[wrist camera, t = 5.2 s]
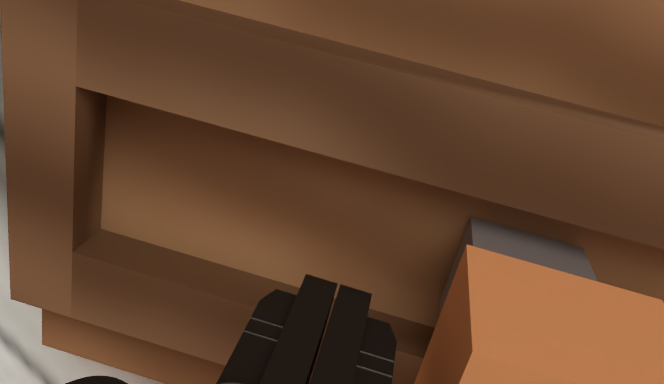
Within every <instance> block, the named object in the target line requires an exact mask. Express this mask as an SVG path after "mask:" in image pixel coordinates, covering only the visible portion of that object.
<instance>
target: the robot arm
mask: <svg viewBox="0 0 664 384" xmlns="http://www.w3.org/2000/svg"><path fill="white" fill-rule="evenodd" d="M337 284H338V283H335V282H331V281H328V280H325V279H322V278H318V277H315V276H312V275H308V274H306V275H305V277H304V280H303V282H302V284H301V287H300V289H299V291H298V294H297V295H294V294H291V293H288V292H284V291H281V290H278V289H275V290H274V291H272V292H271V293H269V294H268V295H266V296H265V297H263V298H262V299H261V300H260V301H259V303H258V304H257V306H256V308H255V310H254V312H253V314H252V316H251V319H250V320H249V322H248V324H247V326H246V327H245V330H244V332H243V333H242V335H241V337H240V339H239V341H238V343H237V345H236V347H235V349H234V351H233V352H232V354H231V356H230V358H229V360H228V362H227V364H226V366H225V368H224V370H223V372H222V374H221V375H220V377H219V379H218V381H217V383H216V384H392V376H393V369H394V360H395V353H396V345H397V341H396V338H395V336H394V333H393V331H392V328H391V326H390V324H389V323H387V322H383V321H380V320H377V319H373V318H370V317H367V316H368V311H369V306H370V302H371V297H372V293H368V292H365V291H362V290H358V289H355V288H352V287H348V286H345V285H342V284H340V287H339V290H338V293H337V297H336V300H335V303H334V306H333V309H332V313H331V316H330V319H329V322H328V325H327V329H326V332H325V335H324V331H325V327H326V324H327V320H328V317H329V313H330V310H331V306H332V302H333V299H334V295H335V292H336V288H337ZM323 335H324V338H323ZM322 338H323V341H322ZM321 342H322V345H321ZM320 345H321V348H320ZM319 349H320V351H319ZM318 352H319V354H318ZM317 355H318V357H317ZM316 359H317V361H316ZM315 362H316V364H315ZM314 365H315V367H314ZM313 368H314V370H313ZM312 372H313V374H312ZM311 375H312V377H311ZM310 378H311V380H310ZM309 381H310V383H309ZM66 384H128V383H126V382H124V381H122V380H120V379H117V378H114V377H109V376H90V377H84V378H81V379H77V380H75V381H72V382H69V383H66Z"/></svg>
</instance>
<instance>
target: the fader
mask: <svg viewBox="0 0 664 384" xmlns="http://www.w3.org/2000/svg"><path fill="white" fill-rule="evenodd" d="M414 384H664V302H663V301H662V300H660V299H657V298H653V297H650V296H646V295H643V294H639V293H636V292H632V291H629V290H625V289H622V288H618V287H615V286H611V285H608V284H604V283H601V282H598V281H597V278H596V276H595V274H594V271H593V269H592V267H591V265H590V262H589V260H588V258H587V255H586V253H585V251H584V248H582V247H578V246H574V245H571V244H567V243H564V242H560V241H557V240H553V239H549V238H546V237H542V236H539V235H535V234H532V233H528V232H524V231H521V230H517V229H514V228H510V227H507V226H503V225H499V224H496V223H492V222H489V221H485V220H482V219H478V218H475V217H470V220H469V223H468V225H467V228H466V231H465V233H464V236H463V239H462V241H461V244H460V247H459V250H458V252H457V255H456V258H455V260H454V263H453V266H452V268H451V271H450V274H449V277H448V279H447V282H446V285H445V287H444V290H443V293H442V296H441V298H440V306H439V319H438V321H437V324H436V327H435V329H434V332H433V335H432V337H431V340H430V343H429V345H428V348H427V351H426V353H425V356H424V359H423V361H422V364H421V367H420V369H419V372H418V375H417V377H416V380H415V383H414Z"/></svg>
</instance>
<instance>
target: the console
mask: <svg viewBox="0 0 664 384" xmlns="http://www.w3.org/2000/svg"><path fill="white" fill-rule="evenodd" d="M0 11H1V39H2V67H3V94H4V122H5V150H6V178H7V206H8V234H9V261H10V289H11V299H13V300H16V301H19V302H22V303H26V304H29V305H32V306H35V307H38V308H42V345H45V346H49V347H52V348H55V349H58V350H61V351H64V352H68V353H71V354H74V355H77V356H80V357H83V358H87V359H90V360H93V361H96V362H99V363H102V364H105V365H109V366H112V367H115V368H118V369H121V370H124V371H128V372H131V373H134V374H137V375H140V376H143V377H147V378H150V379H153V380H156V381H159V382H162V383H166V384H216V383H217V381H218V379H219V377H220V375H221V374H222V372H223V370H224V368H225V366H226V364H227V362H228V360H229V358H230V356H231V354H232V352H233V351H234V349H235V347H236V345H237V343H238V341H239V339H240V337H241V335H242V333H243V332H244V330H245V327H246V326H247V324H248V322H249V320H250V319H251V316H252V314H253V312H254V310H255V308H256V306H257V304H258V303H259V301H260V300H261V299H262V298H263V297H265V296H266V295H268V294H269V293H271V292H272V291H274V290H275V289H278V290H281V291H284V292H288V293H291V294H294V295H297V294H298V291H299V289H300V287H301V284H302V282H303V280H304V277H305V275H306V274H308V275H312V276H315V277H318V278H322V279H325V280H328V281H331V282H335V283H338V284H337V288H336V292H335V295H334V299H333V302H332V306H331V310H330V313H329V317H328V320H327V324H326V327H325V331H324V335H325V332H326V329H327V325H328V322H329V319H330V316H331V313H332V309H333V306H334V303H335V300H336V297H337V293H338V290H339V287H340V284H342V285H345V286H348V287H352V288H355V289H358V290H362V291H365V292H368V293H372V297H371V302H370V306H369V311H368V316H367V317H370V318H373V319H377V320H380V321H383V322H387V323H389V324H390V326H391V328H392V331H393V333H394V336H395V338H396V341H397V345H396V353H395V360H394V369H393V376H392V384H414V383H415V380H416V377H417V375H418V372H419V369H420V367H421V364H422V361H423V359H424V356H425V353H426V351H427V348H428V345H429V343H430V340H431V337H432V335H433V332H434V329H435V327H436V324H437V321H438V319H439V306H440V298H441V296H442V293H443V290H444V287H445V285H446V282H447V279H448V277H449V274H450V271H451V268H452V266H453V263H454V260H455V258H456V255H457V252H458V250H459V247H460V244H461V241H462V239H463V236H464V233H465V231H466V228H467V225H468V223H469V220H470V217H475V218H478V219H482V220H485V221H489V222H492V223H496V224H499V225H503V226H507V227H510V228H514V229H517V230H521V231H524V232H528V233H532V234H535V235H539V236H542V237H546V238H549V239H553V240H557V241H560V242H564V243H567V244H571V245H574V246H578V247H582V248H584V251H585V253H586V255H587V258H588V260H589V262H590V265H591V267H592V269H593V271H594V274H595V276H596V278H597V281H598V282H601V283H604V284H608V285H611V286H615V287H618V288H622V289H625V290H629V291H632V292H636V293H639V294H643V295H646V296H650V297H653V298H657V299H660V300H662V301H663V302H664V0H0ZM324 335H323V338H324ZM323 338H322V341H323ZM321 345H322V342H321ZM321 345H320V348H321ZM319 351H320V349H319ZM318 354H319V352H318ZM317 357H318V355H317ZM316 361H317V359H316ZM315 364H316V362H315ZM314 367H315V365H314ZM313 370H314V368H313ZM312 374H313V372H312ZM311 377H312V375H311ZM310 380H311V378H310ZM309 383H310V381H309Z"/></svg>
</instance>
